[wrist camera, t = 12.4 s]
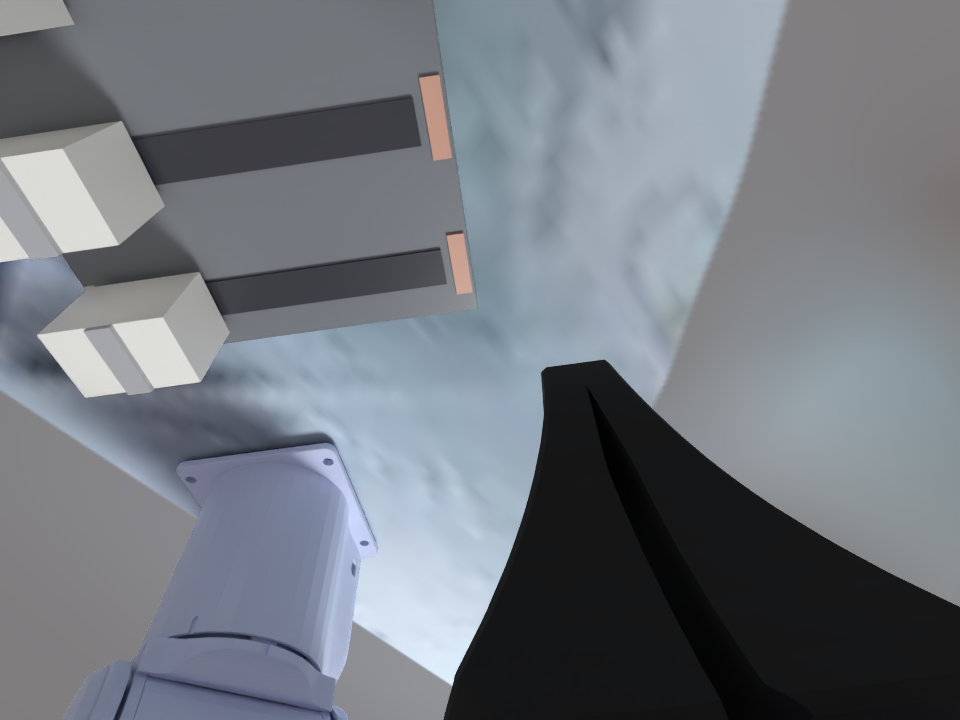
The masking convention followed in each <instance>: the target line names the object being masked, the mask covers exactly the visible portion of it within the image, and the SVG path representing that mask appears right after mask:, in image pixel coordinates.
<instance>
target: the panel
mask: <svg viewBox="0 0 960 720" xmlns="http://www.w3.org/2000/svg"><path fill="white" fill-rule="evenodd" d="M63 2H64V4H65V6H66V8H67V10H68V12H69V14H70V16H71V18H72V20H73V22H74V24H75V25H69V26H62V27H56V28H50V29H43V30H37V31H30V32H24V33H18V34H11V35H5V36H0V139H4V138H11V137H17V136H24V135H31V134H37V133H44V132H50V131H57V130H64V129H70V128H77V127H83V126H90V125H97V124H103V123H110V122H116V121H122V122H123V124H124V126H125V128H126V130H127V132H128V134H129V136H130V138H131V140H132V142H133V144H134V146H135V148H136V150H137V152H138V154H139V156H140V158H141V160H142V162H143V164H144V166H145V168H146V170H147V172H148V174H149V176H150V178H151V180H152V182H153V184H154V186H155V188H156V190H157V191H158V193H159V195H160V197H161V199H162V201H163V203H164V205H165V206H164V207H163V208H162V209H161V210H160V211H159V212H157V213H156V214H155V215H154V216H153V217H151V218H150V219H149V220H148V221H147V222H146V223H144V224H143V225H142V226H141V227H140V228H139V229H137V230H136V231H135V232H134V233H133V234H132V235H130V236H129V237H128V238H127V239H126V240H124V241H123V242H122V243H121V244H120V245H116V246H109V247H103V248H96V249H89V250H82V251H75V252H68V253H63V254H62V255H63V257H64V258H65V260H66V261H67V263H68V264H69V266H70V267H71V269H72V270H73V272H74V273H75V275H76V276H77V278H78V279H79V281H80V282H81V284H82V285H83V288H84V290H85V291H86V290H87V289H88V288H90V287H97V286H104V285H111V284H118V283H125V282H132V281H139V280H146V279H153V278H160V277H167V276H174V275H181V274H188V273H195V272H200V274H201V276H202V278H203V280H204V282H205V284H206V286H207V288H208V290H209V292H210V294H211V296H212V298H213V300H214V302H215V304H216V306H217V308H218V310H219V312H220V314H221V316H222V318H223V320H224V322H225V324H226V326H227V328H228V330H229V332H230V333H229V335H228V336H227V338H226V340H225V341H224V343H223V344H225V343H232V342H239V341H247V340H254V339H261V338H268V337H275V336H283V335H290V334H297V333H304V332H311V331H319V330H326V329H333V328H340V327H348V326H355V325H362V324H369V323H376V322H384V321H391V320H398V319H405V318H413V317H420V316H427V315H434V314H441V313H449V312H456V311H463V310H470V309H477V299H476V290H475V284H474V277H473V270H472V264H471V257H470V250H469V243H468V237H467V230H466V223H465V216H464V210H463V203H462V196H461V189H460V183H459V176H458V169H457V162H456V156H455V149H454V142H453V136H452V129H451V122H450V115H449V109H448V102H447V95H446V88H445V82H444V75H443V68H442V61H441V55H440V48H439V41H438V34H437V28H436V21H435V14H434V8H433V1H432V0H63Z"/></svg>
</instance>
